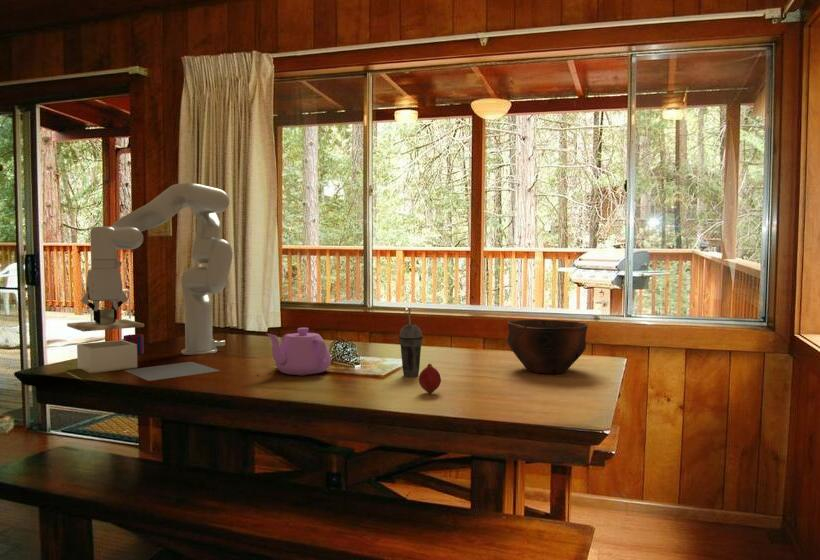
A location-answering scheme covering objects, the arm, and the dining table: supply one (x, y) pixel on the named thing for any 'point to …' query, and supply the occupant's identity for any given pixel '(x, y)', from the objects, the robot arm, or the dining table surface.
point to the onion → (429, 379)
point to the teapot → (301, 353)
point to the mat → (170, 371)
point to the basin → (107, 356)
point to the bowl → (547, 343)
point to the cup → (136, 342)
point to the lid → (105, 323)
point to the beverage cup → (410, 348)
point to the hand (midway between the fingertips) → (105, 321)
